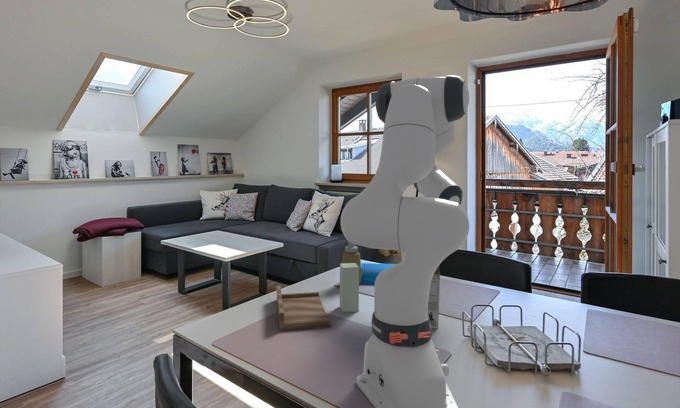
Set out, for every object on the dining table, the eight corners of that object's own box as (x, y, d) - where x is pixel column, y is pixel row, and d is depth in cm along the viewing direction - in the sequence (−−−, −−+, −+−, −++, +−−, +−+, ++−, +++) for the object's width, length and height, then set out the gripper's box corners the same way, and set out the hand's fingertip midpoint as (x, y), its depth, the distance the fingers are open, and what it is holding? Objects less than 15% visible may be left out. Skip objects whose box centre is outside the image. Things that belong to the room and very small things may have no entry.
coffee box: (415, 315, 121) (417, 262, 119) (437, 316, 120) (439, 264, 118) (415, 327, 112) (416, 271, 110) (438, 329, 111) (440, 272, 109)
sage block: (358, 311, 124) (359, 267, 122) (342, 312, 123) (342, 267, 121) (355, 305, 129) (355, 262, 127) (339, 306, 128) (339, 263, 126)
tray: (330, 326, 112) (330, 309, 112) (279, 330, 110) (279, 313, 109) (318, 297, 137) (318, 282, 136) (276, 299, 134) (276, 285, 133)
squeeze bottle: (348, 280, 156) (348, 234, 154) (366, 283, 151) (366, 236, 149) (336, 285, 149) (336, 237, 147) (354, 289, 145) (354, 240, 143)
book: (361, 263, 168) (421, 263, 167) (361, 273, 169) (421, 273, 167) (360, 274, 151) (427, 275, 150) (360, 285, 152) (427, 286, 150)
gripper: (401, 204, 137) (364, 212, 133) (434, 219, 119) (393, 229, 115) (402, 221, 139) (366, 230, 135) (435, 239, 121) (394, 250, 116)
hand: (378, 230), depth 125 cm, fingers open, 8 cm apart
